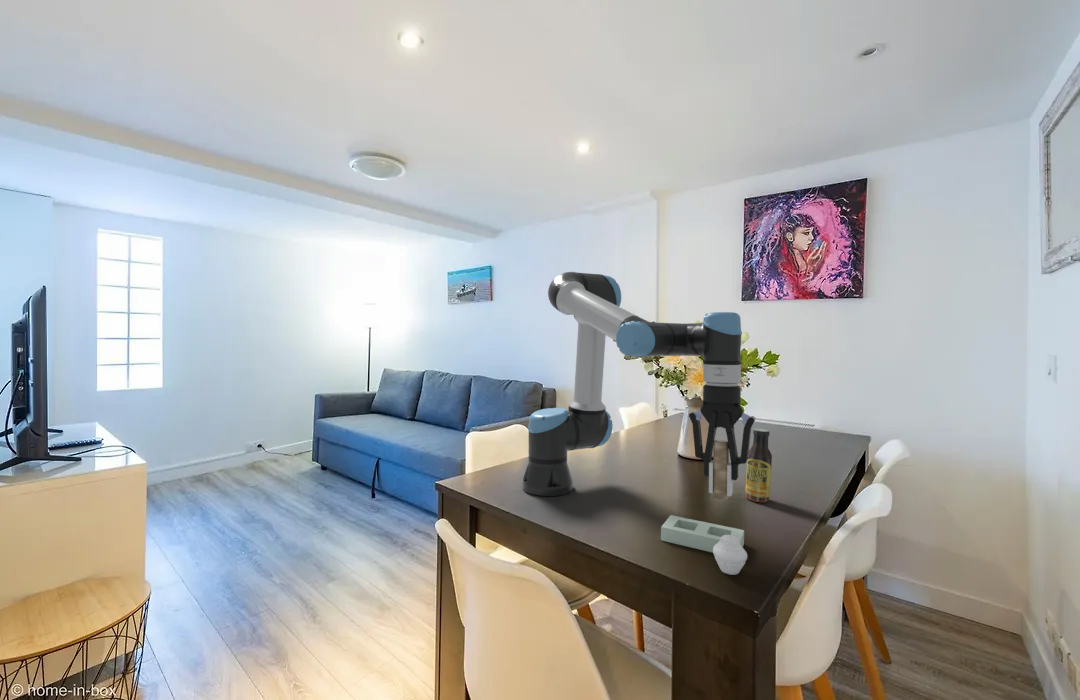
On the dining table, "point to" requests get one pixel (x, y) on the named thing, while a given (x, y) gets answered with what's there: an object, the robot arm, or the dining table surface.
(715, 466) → the peg
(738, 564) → the muffin
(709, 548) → the hole block
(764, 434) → the sauce bottle
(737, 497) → the dining table surface
